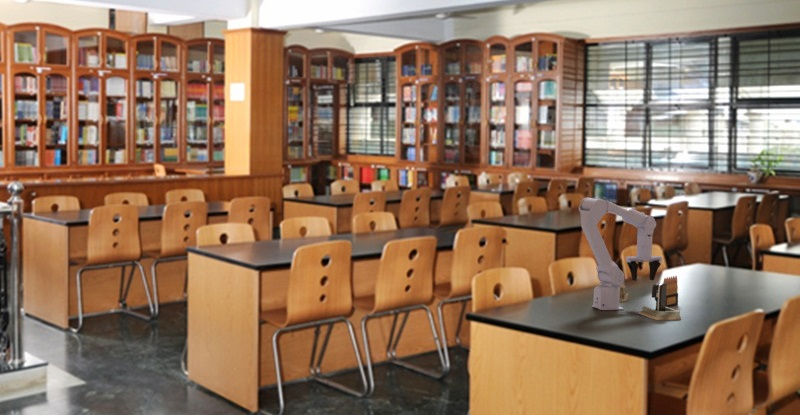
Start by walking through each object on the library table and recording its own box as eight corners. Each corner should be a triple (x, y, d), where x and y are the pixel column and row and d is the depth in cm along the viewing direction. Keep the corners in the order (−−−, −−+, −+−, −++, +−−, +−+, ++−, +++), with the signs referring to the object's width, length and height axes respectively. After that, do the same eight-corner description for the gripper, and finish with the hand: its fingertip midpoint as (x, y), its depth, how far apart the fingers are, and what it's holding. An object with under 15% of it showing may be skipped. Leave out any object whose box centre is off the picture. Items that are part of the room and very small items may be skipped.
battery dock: (656, 320, 333) (656, 311, 333) (639, 313, 344) (639, 305, 344) (680, 319, 335) (681, 311, 335) (663, 313, 347) (663, 305, 347)
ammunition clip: (664, 308, 357) (666, 278, 356) (660, 308, 358) (661, 277, 357) (677, 305, 364) (679, 275, 363) (673, 304, 366) (675, 275, 365)
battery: (655, 311, 344) (657, 281, 344) (665, 312, 342) (667, 282, 342) (649, 314, 339) (651, 283, 338) (660, 315, 337) (661, 284, 336)
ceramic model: (616, 304, 365) (617, 279, 364) (591, 300, 372) (592, 275, 372) (633, 300, 375) (634, 275, 375) (609, 296, 383) (610, 272, 382)
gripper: (633, 247, 353) (631, 282, 354) (666, 246, 356) (665, 281, 358) (623, 245, 359) (622, 279, 360) (656, 244, 363) (655, 278, 364)
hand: (643, 280), depth 359 cm, fingers open, 7 cm apart
